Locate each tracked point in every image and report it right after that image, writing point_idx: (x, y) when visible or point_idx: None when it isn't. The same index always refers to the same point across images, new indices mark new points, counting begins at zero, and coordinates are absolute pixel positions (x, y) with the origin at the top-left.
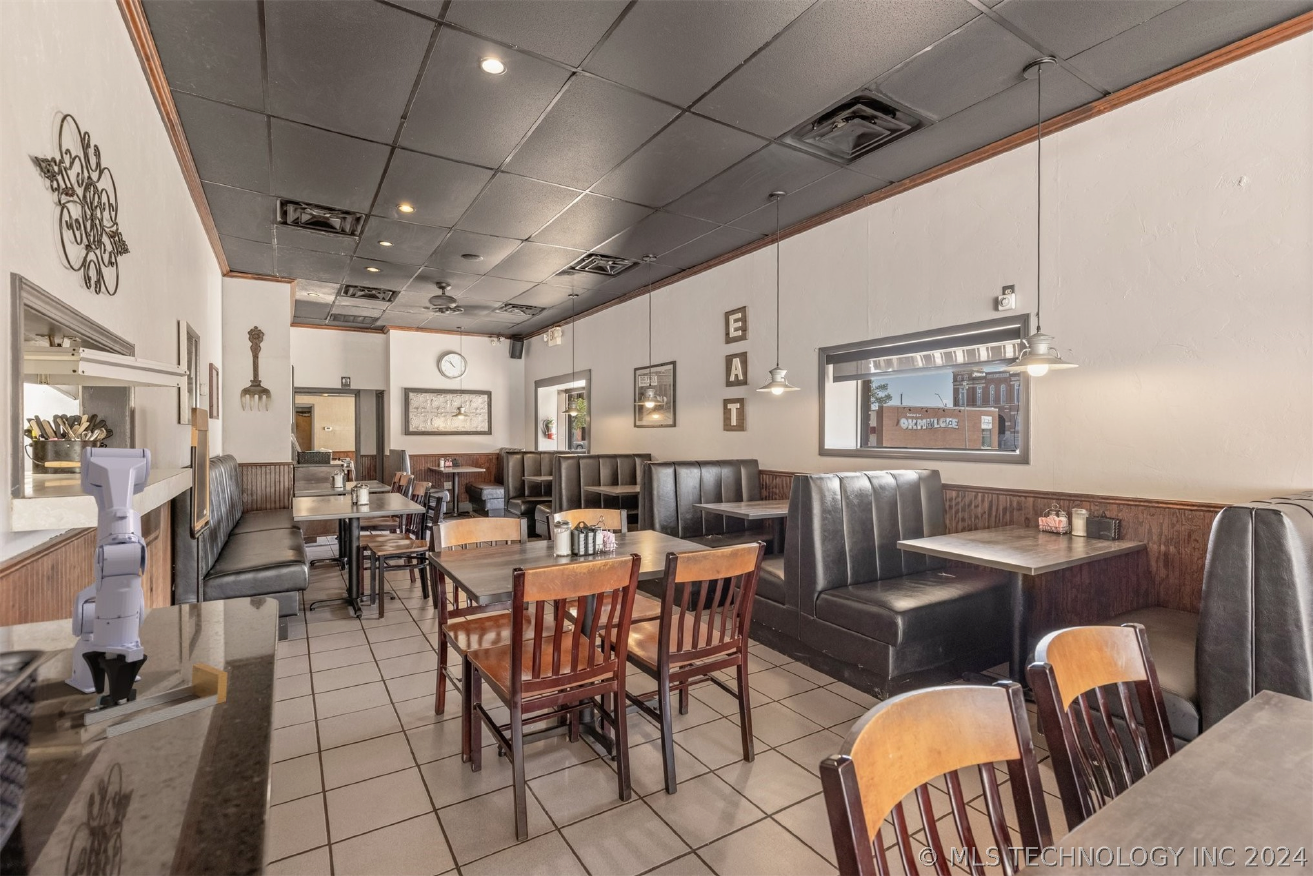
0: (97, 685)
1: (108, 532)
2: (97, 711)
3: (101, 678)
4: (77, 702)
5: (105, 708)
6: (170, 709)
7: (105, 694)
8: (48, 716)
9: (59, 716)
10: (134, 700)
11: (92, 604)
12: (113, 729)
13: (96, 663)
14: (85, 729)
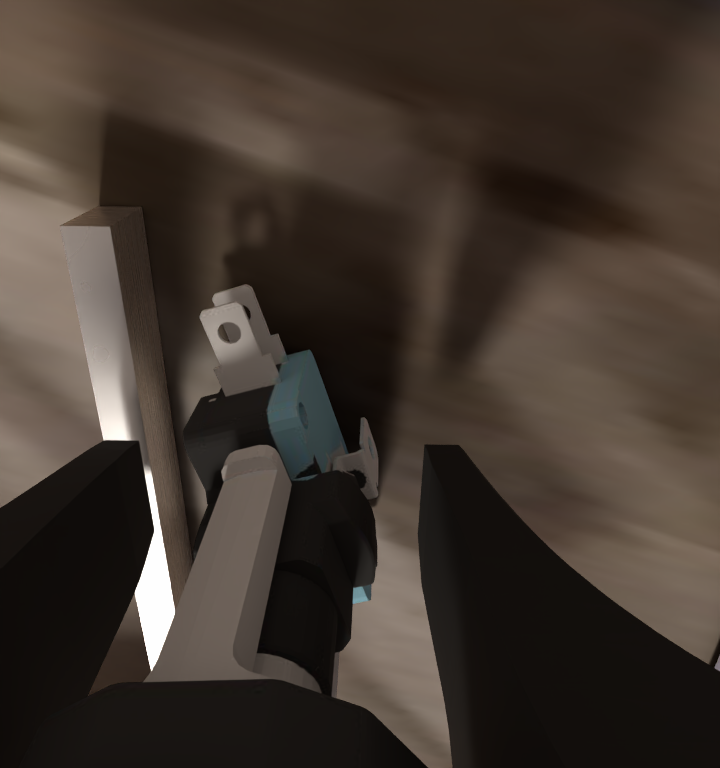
0: (441, 492)
1: None
2: (98, 314)
3: (451, 565)
4: (701, 359)
5: (132, 374)
6: None
7: (234, 457)
8: (598, 113)
9: (511, 167)
10: (153, 540)
11: None
12: None
13: (501, 712)
14: (13, 173)
